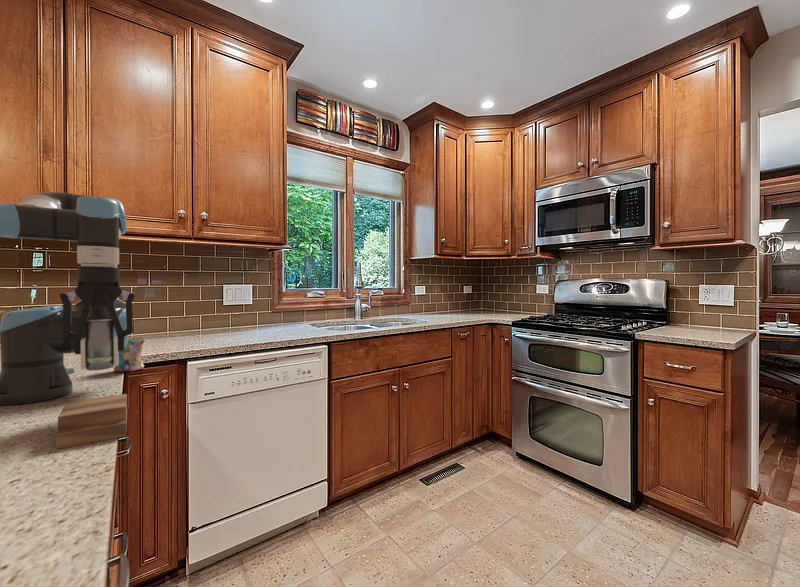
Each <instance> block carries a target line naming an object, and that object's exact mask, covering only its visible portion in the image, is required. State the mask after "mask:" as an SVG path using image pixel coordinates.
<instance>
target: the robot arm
mask: <svg viewBox="0 0 800 587" xmlns="http://www.w3.org/2000/svg"><path fill="white" fill-rule="evenodd" d="M126 232H127V220H126V213H125V208H124V204H123V203H122V202H121V201H120V200H118V199H116V198H111V197H110V198H109V197H107V196H102V197H101V196H92V195H85V194H77V193H69V192H59V191H58V192H57V191H55V192H54V191H53V192H40V193H33V194H31V195H30V194H29V195H27V196H24V197H23V198H22V199H21V200H20V201H19V202H18V204H14V203H10V202H9V203H0V238H7V239H8V238H9V239H11V240H16V239H26V240H44V241H45V240H46V241H60V242H76V252H77V253H76V259H77V260H76V263H77V264H78V265H80V266H78V267H77V286H76V288H75V289H74V290H73V291H70V292H63V293H60V294H59V298H60V300H61V302H62V305H60V304H59V305H50V306H48V305H47V306H41V307H40V306H39V307H32V308H31V307H30V308H25V309H17V310H12V311H8V312H4V313H3V314H2V315H1V317H0V406H12V405H14V406H15V405H24V404H31V403H38V402H44V401H48V400H52V399H53V400H54V399H56V398H60V397H64V396H67V395H69V394H71V393H73V391H74V390H73V389H74V386H73V381H72V378H71V377H70V374H68V372H67V370H66V366H65V362H64V360H65V359H64V354H73V353H74V354H75V355H80V370H86V321H87V320H99V319H112V322H113V333H114V367H115V366H118V351H123V350H124V347H125V346H126V345H127V342H128V338H129V335H132V334H133V333H134V323H133V322H134V320H133V301H134V299H135V296H136V294H135V293H134V292H133V291H132V292H129V291H126V290H123V289H122V288H121V285H120V268H119V267H118V265H120V245H119V242H120V241H119V240H120V239H121V236H122V235H125V234H126ZM75 296H77V297H78V298H79V299H80V300H78V301H77V302H75V303H74V304H73V303H72V302H74V301H75ZM120 296H122V299H123V300H121V299H119V297H120ZM124 301H125V303H124ZM73 305H74V306H73Z"/></svg>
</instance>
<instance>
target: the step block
mask: <svg viewBox="0 0 800 587" xmlns="http://www.w3.org/2000/svg"><path fill="white" fill-rule="evenodd" d="M127 421H128V393H123V394H122V393H121V394H114V395H109V396H99V397H93V398H85V399H78V400H77V399H76V400H70V401H66V402H65V404H64V406H63V408H62V410H61V412H60V413H59V415H58V416H57V432H56V434H55V449H56V450H59V449H63V448H69V447H74V446H80V445H86V444H90V443H91V442H92V443H97V442H102V441H107V440H113V439H118V438H124V437H127V426H128V422H127ZM92 443H91V444H92Z"/></svg>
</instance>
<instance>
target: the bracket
mask: <svg viewBox="0 0 800 587" xmlns="http://www.w3.org/2000/svg"><path fill="white" fill-rule="evenodd" d="M65 368H66V367H65ZM66 370H67V372H68V374H69V375H72V374H75V369H74V367H73V368H71V367H70V368H68V367H67V368H66Z"/></svg>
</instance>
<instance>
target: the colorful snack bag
mask: <svg viewBox="0 0 800 587" xmlns="http://www.w3.org/2000/svg"><path fill="white" fill-rule="evenodd" d="M145 341H146V338H145V337H128V342H127V345H126V346H125V347H124V350H123V351H118V366H114V367H113V370H114V372H120V373H127V372H128V373H129V372H135V371H136V372H137V371H139V370H141V369H144V367H145V365H144V363H143V360H142V349H143V345H144V343H145Z"/></svg>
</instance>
